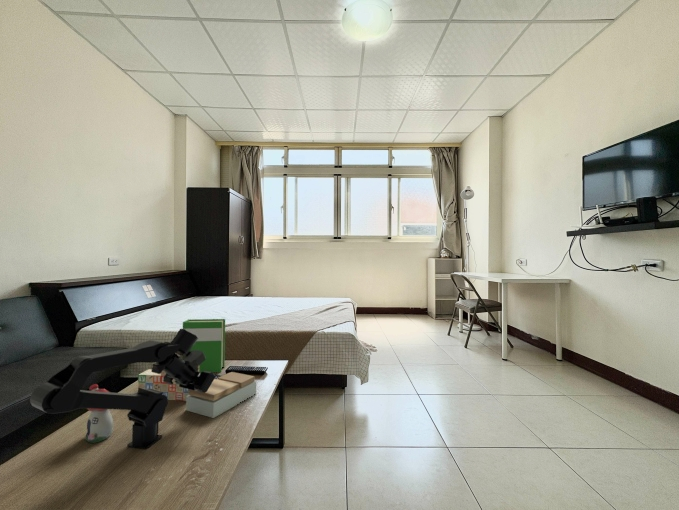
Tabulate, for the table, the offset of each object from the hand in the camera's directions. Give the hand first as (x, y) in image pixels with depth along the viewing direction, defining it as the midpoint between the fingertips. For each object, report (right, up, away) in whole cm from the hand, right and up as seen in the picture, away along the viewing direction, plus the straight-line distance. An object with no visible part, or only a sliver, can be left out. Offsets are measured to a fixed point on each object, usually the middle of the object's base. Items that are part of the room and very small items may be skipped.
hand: (203, 389), depth 113 cm
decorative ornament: (-25, -8, -16) cm, 30 cm away
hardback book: (-18, -9, +43) cm, 47 cm away
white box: (+4, -8, +9) cm, 13 cm away
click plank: (+2, -3, +5) cm, 6 cm away
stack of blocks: (-19, -9, +13) cm, 25 cm away
